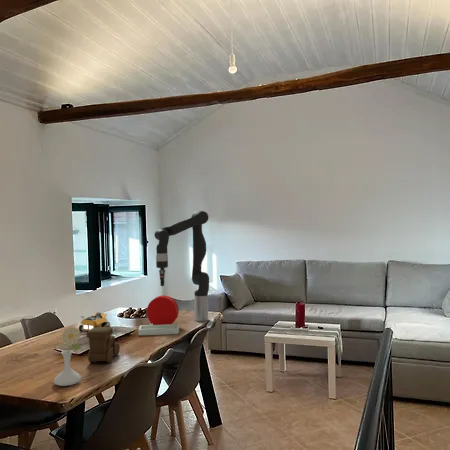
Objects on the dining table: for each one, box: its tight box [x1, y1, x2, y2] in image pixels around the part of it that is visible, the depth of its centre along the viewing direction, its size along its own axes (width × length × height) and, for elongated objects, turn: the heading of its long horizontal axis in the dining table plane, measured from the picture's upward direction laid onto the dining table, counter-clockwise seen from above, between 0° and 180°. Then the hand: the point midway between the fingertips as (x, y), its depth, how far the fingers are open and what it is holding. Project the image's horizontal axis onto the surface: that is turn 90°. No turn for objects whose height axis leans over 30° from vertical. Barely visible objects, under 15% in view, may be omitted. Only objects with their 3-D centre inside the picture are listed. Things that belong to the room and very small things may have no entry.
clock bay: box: [138, 323, 180, 336], centre depth 273 cm, size 10×24×4 cm, turn 96°
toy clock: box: [146, 294, 180, 325], centre depth 287 cm, size 20×6×20 cm, turn 84°
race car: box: [78, 311, 111, 332], centre depth 282 cm, size 15×15×11 cm
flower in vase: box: [53, 326, 82, 387], centre depth 191 cm, size 13×11×25 cm
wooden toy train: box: [86, 324, 121, 364], centre depth 223 cm, size 20×11×17 cm, turn 176°
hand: (162, 285), depth 287 cm, fingers open, 8 cm apart
